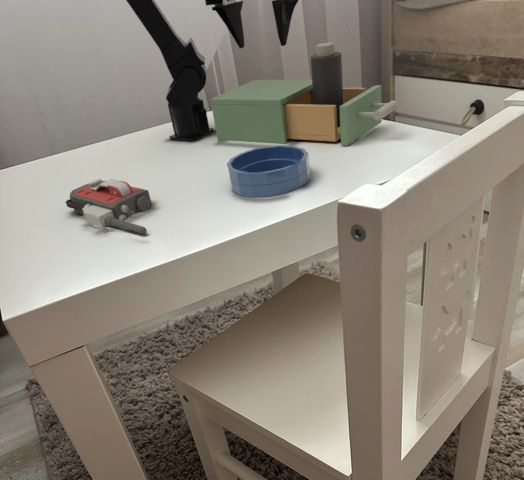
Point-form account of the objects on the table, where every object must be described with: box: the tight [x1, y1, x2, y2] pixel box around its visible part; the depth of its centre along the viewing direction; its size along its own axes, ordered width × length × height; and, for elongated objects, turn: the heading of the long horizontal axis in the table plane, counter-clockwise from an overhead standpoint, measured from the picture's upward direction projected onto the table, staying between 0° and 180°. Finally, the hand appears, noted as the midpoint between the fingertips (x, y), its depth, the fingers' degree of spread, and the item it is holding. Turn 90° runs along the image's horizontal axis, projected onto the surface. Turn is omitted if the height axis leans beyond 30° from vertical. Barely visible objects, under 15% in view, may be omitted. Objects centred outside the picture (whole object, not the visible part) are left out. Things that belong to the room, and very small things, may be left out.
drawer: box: [283, 84, 399, 147], centre depth 87 cm, size 18×12×6 cm
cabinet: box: [209, 78, 313, 145], centre depth 94 cm, size 15×14×8 cm
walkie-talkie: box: [65, 178, 153, 234], centre depth 72 cm, size 9×4×20 cm
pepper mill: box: [310, 41, 344, 128], centre depth 85 cm, size 5×5×12 cm
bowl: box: [226, 144, 311, 198], centre depth 74 cm, size 11×11×4 cm
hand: (262, 46), depth 95 cm, fingers open, 9 cm apart
